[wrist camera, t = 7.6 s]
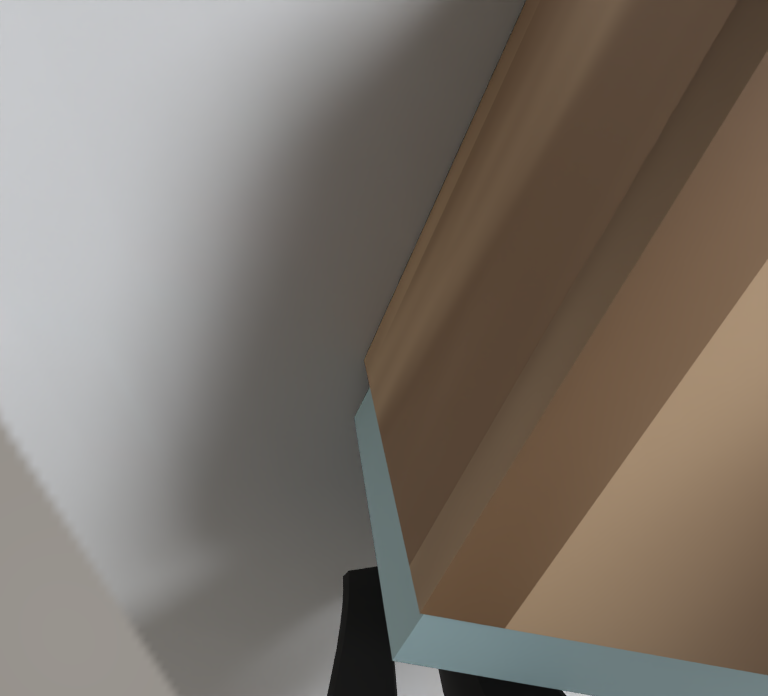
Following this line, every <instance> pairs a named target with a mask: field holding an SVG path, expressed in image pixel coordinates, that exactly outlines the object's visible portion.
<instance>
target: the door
mask: <svg viewBox="0 0 768 696" xmlns="http://www.w3.org/2000/svg"><path fill="white" fill-rule="evenodd" d="M354 420H355V426H356V432H357V439H358V445H359V451H360V458H361V464H362V471H363V477H364V483H365V490H366V496H367V502H368V509H369V515H370V521H371V528H372V534H373V540H374V547H375V553H376V560H377V566H378V572H379V579H380V585H381V591H382V598H383V604H384V610H385V617H386V623H387V630H388V636H389V642H390V649H391V655H392V661H397V662H403V663H408V664H414V665H420V666H426V667H431V668H437V669H443V670H449V671H454V672H460V673H466V674H472V675H477V676H483V677H489V678H494V679H500V680H506V681H512V682H517V683H523V684H529V685H535V686H540V687H546V688H552V689H558V690H563V691H569V692H575V693H581V694H586V695H592V696H768V675H763V674H758V673H752V672H746V671H741V670H735V669H729V668H724V667H718V666H713V665H707V664H701V663H696V662H690V661H684V660H679V659H673V658H667V657H662V656H656V655H651V654H645V653H639V652H634V651H628V650H622V649H617V648H611V647H605V646H600V645H594V644H589V643H583V642H577V641H572V640H566V639H560V638H555V637H549V636H543V635H538V634H532V633H527V632H521V631H515V630H510V629H504V628H498V627H493V626H487V625H481V624H476V623H470V622H465V621H459V620H453V619H448V618H442V617H436V616H431V615H425V614H420V612H419V608H418V603H417V599H416V594H415V590H414V585H413V581H412V576H411V572H410V567H409V562H408V558H407V553H406V549H405V544H404V540H403V535H402V531H401V526H400V522H399V517H398V512H397V508H396V503H395V499H394V494H393V490H392V485H391V481H390V476H389V472H388V467H387V463H386V458H385V453H384V449H383V444H382V440H381V435H380V431H379V426H378V422H377V417H376V413H375V408H374V403H373V399H372V394H371V390H370V388H369V390H368V392H367V394H366V395H365V397H364V399H363V401H362V403H361V405H360V407H359V409H358V411H357V413H356V415H355V417H354Z"/></svg>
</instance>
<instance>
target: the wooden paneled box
mask: <svg viewBox="0 0 768 696" xmlns="http://www.w3.org/2000/svg"><path fill="white" fill-rule="evenodd" d="M364 363H365V367H366V372H367V376H368V381H369V385H370V390H371V394H372V399H373V403H374V408H375V413H376V417H377V422H378V426H379V431H380V435H381V440H382V444H383V449H384V453H385V458H386V463H387V467H388V472H389V476H390V481H391V485H392V490H393V494H394V499H395V503H396V508H397V512H398V517H399V522H400V526H401V531H402V535H403V540H404V544H405V549H406V553H407V558H408V562H409V567H410V572H411V576H412V581H413V585H414V590H415V594H416V599H417V603H418V608H419V612H420V614H425V615H431V616H436V617H442V618H448V619H453V620H459V621H465V622H470V623H476V624H481V625H487V626H493V627H498V628H504V629H510V630H515V631H521V632H527V633H532V634H538V635H543V636H549V637H555V638H560V639H566V640H572V641H577V642H583V643H589V644H594V645H600V646H605V647H611V648H617V649H622V650H628V651H634V652H639V653H645V654H651V655H656V656H662V657H667V658H673V659H679V660H684V661H690V662H696V663H701V664H707V665H713V666H718V667H724V668H729V669H735V670H741V671H746V672H752V673H758V674H763V675H768V0H526V2H525V4H524V6H523V9H522V11H521V13H520V15H519V17H518V20H517V22H516V24H515V26H514V29H513V31H512V33H511V35H510V37H509V40H508V42H507V44H506V46H505V48H504V51H503V53H502V55H501V57H500V60H499V62H498V64H497V66H496V68H495V71H494V73H493V75H492V77H491V80H490V82H489V84H488V86H487V88H486V91H485V93H484V95H483V97H482V99H481V102H480V104H479V106H478V108H477V111H476V113H475V115H474V117H473V119H472V122H471V124H470V126H469V128H468V130H467V133H466V135H465V137H464V139H463V142H462V144H461V146H460V148H459V150H458V153H457V155H456V157H455V159H454V162H453V164H452V166H451V168H450V170H449V173H448V175H447V177H446V179H445V181H444V184H443V186H442V188H441V190H440V193H439V195H438V197H437V199H436V201H435V204H434V206H433V208H432V210H431V213H430V215H429V217H428V219H427V221H426V224H425V226H424V228H423V230H422V232H421V235H420V237H419V239H418V241H417V244H416V246H415V248H414V250H413V252H412V255H411V257H410V259H409V261H408V264H407V266H406V268H405V270H404V272H403V275H402V277H401V279H400V281H399V283H398V286H397V288H396V290H395V292H394V295H393V297H392V299H391V301H390V303H389V306H388V308H387V310H386V312H385V315H384V317H383V319H382V321H381V323H380V326H379V328H378V330H377V332H376V334H375V337H374V339H373V341H372V343H371V346H370V348H369V350H368V352H367V354H366V357H365V359H364Z"/></svg>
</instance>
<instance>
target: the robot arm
mask: <svg viewBox="0 0 768 696" xmlns="http://www.w3.org/2000/svg"><path fill="white" fill-rule="evenodd" d="M439 674H440V679H441V683H442V688H443V693H444V696H566V695H565V694H564V692H563V691H562V690H558V689H552V688H546V687H540V686H535V685H529V684H523V683H517V682H512V681H506V680H500V679H494V678H489V677H483V676H477V675H472V674H466V673H460V672H454V671H449V670H443V669H439ZM327 696H397V686H396V674H395V663H394V661H392V655H391V649H390V642H389V636H388V630H387V623H386V617H385V610H384V604H383V598H382V591H381V585H380V579H379V572H378V566H377V567H371V568H364V569H358V570H351V571H348V572H347V573H346V574H345V575H344V576H343V604H342V615H341V623H340V630H339V637H338V643H337V649H336V654H335V659H334V664H333V669H332V674H331V679H330V684H329V689H328V694H327Z"/></svg>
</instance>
